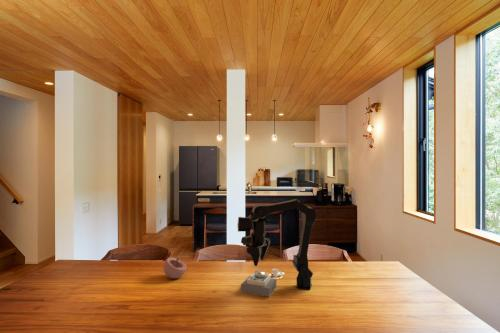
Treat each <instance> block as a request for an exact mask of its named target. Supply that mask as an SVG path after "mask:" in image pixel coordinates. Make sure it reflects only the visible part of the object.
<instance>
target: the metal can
mask: <svg viewBox="0 0 500 333" xmlns="http://www.w3.org/2000/svg"><path fill="white" fill-rule="evenodd" d="M254 273H255V280H260V281H264V280H265V275H266V271H264V270H262V269H261V270H260V269H258V270H255V271H254Z"/></svg>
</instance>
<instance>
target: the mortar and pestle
mask: <svg viewBox="0 0 500 333" xmlns="http://www.w3.org/2000/svg"><path fill="white" fill-rule="evenodd" d="M186 271H187V264H186V263H185V262H183V260H181V258H180V256H177V258H176V257H173V256H172V257H167V259H165V261H164V263H163V272H164V274H165V275H166V276H167V278H169V279H179V278H181V277H182V276H184V274H185V273H186Z"/></svg>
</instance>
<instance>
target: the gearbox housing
mask: <svg viewBox="0 0 500 333" xmlns="http://www.w3.org/2000/svg"><path fill="white" fill-rule="evenodd" d="M271 277H272V275H269V274H265V280H264V281H260V280H255V272H253V273H252V274H250V275H249V276H248V277H247V278H245V280H243V281H242V282H241V284H240V291H241V294H247V293H248V294H247V295H253V294H254V295H253V296H259V295H262V296H261V297H266V296H268V297H267V298H270V297H271V296H272V294H273V293H274V292H275V290H276V288H277V279H273V278H274V277H272V278H271ZM274 289H275V290H274ZM272 292H273V293H272ZM270 295H271V296H270Z"/></svg>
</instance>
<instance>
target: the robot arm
mask: <svg viewBox="0 0 500 333" xmlns="http://www.w3.org/2000/svg"><path fill="white" fill-rule="evenodd" d="M293 209H296V210H298V212H300V213H301V220H302V226H301V234H300V238H299V239H300V240H299V244H298V245H299V246H298V251H297V254H293V259H292V262H291V263H292V266H293V267H294V268H295V270H296V271H297V272H298V273H297V276H296V288H297V289H301V290H306V291H307V290H308V291H310V290H311V288H312V287H313V283H312V278H313V275H314V273H313V271H312V270H310V268H309V259H308V252H309V245H310V239H311V233H312V228H313V225H314V224H315V222H316V219H317V216H318V212H317V210H316V209H314V208H313V207H311V206H307V205H306V204H304V203H302V202H301V201H300V200H298V199H296V198H293V199H291V200H285V201H280V202H276V203H275V202H274V203H271V204H268V203H267V204H265V203H260V204H259V203H256V204H254V205H253V207H252V210H251V212H250V214H249V215H248V217H247V216H246V217H244V216H238V219H237V232H251V231H252V233H251V234H250V235H247V236H245V235H244V236H242V237H241V240H240V243H241V244H242V245H243V246H246V245H248V244H250V245H249V246H247V247H246V253H247V254H248V255H250V256H251V259H252V261H253V265H254V266H255V267H257V266H258V264H259V263H260V262H259V261H264V258H265V256H266V254H267V252H268V249H269V247H270V245H271V239H270V238H269V237H266V235H267V232H266V223H269V222H270V220H269V219H268V218H267V216H270V215H271V214H273V213H278V212H283V211H287V210H293Z"/></svg>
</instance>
